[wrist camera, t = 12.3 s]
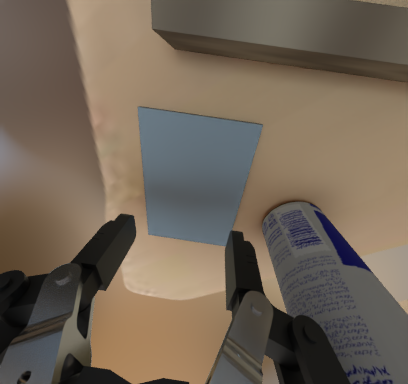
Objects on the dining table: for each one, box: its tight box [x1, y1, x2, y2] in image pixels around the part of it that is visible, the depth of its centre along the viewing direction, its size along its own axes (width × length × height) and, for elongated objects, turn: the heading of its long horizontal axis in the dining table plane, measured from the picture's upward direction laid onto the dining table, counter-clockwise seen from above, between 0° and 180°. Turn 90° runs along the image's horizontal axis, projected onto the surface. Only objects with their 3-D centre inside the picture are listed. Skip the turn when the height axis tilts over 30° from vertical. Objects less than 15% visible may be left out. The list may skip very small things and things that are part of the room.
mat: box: [138, 107, 263, 246], centre depth 15 cm, size 9×13×1 cm
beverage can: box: [262, 202, 408, 384], centre depth 10 cm, size 6×6×15 cm
